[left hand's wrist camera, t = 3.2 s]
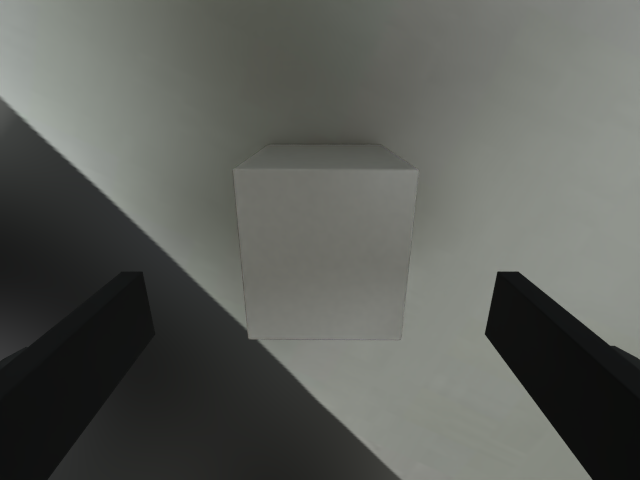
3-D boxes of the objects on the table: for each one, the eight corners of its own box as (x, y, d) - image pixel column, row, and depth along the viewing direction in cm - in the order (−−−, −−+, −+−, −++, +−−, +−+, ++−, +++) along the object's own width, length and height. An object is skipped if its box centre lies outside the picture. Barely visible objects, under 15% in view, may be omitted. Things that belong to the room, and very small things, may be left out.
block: (374, 259, 26) (401, 340, 17) (273, 259, 26) (247, 340, 17) (381, 144, 23) (419, 169, 14) (267, 144, 23) (231, 168, 14)
